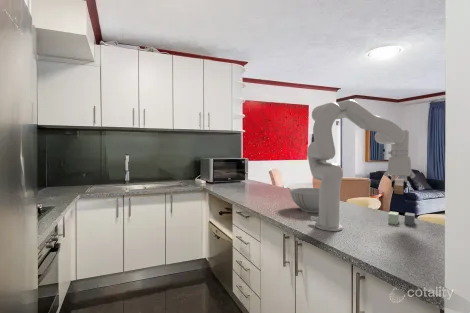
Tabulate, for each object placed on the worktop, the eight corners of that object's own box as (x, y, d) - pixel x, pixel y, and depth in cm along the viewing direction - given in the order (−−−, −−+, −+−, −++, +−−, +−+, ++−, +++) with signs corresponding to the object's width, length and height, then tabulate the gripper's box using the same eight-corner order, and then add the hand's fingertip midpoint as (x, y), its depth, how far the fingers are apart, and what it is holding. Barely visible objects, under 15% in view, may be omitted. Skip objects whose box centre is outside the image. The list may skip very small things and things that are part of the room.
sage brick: (397, 224, 135) (397, 215, 135) (388, 223, 138) (388, 213, 138) (398, 221, 141) (398, 212, 141) (389, 220, 143) (390, 211, 143)
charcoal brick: (413, 225, 134) (414, 216, 134) (404, 224, 136) (404, 214, 136) (414, 223, 139) (414, 213, 139) (405, 221, 142) (405, 212, 142)
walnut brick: (403, 194, 134) (403, 185, 132) (394, 193, 136) (393, 185, 135) (404, 187, 139) (404, 178, 137) (395, 186, 141) (395, 178, 140)
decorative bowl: (287, 213, 155) (287, 193, 155) (291, 204, 181) (291, 186, 181) (335, 217, 147) (336, 196, 147) (332, 207, 173) (333, 189, 173)
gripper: (380, 153, 138) (379, 188, 138) (419, 154, 128) (418, 191, 128) (382, 153, 144) (381, 186, 144) (419, 153, 134) (419, 189, 134)
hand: (399, 188), depth 136 cm, fingers closed on walnut brick, 4 cm apart
